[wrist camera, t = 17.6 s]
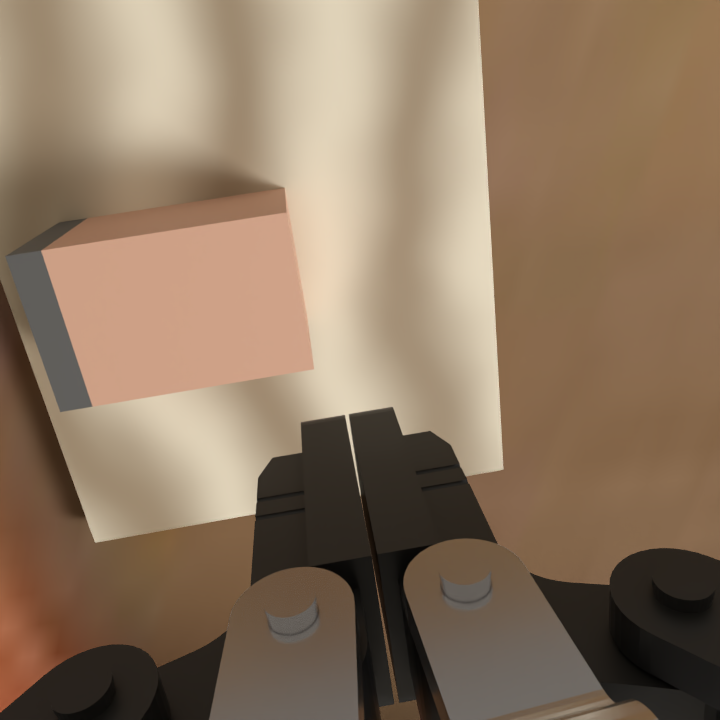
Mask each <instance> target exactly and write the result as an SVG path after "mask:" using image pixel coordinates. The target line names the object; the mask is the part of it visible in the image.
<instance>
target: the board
mask: <svg viewBox="0 0 720 720" xmlns="http://www.w3.org/2000/svg"><path fill="white" fill-rule="evenodd" d="M280 188H285V192H286V198H287V204H288V209H289V215H290V221H291V226H292V232H293V238H294V244H295V249H296V255H297V261H298V267H299V272H300V278H301V284H302V289H303V295H304V301H305V307H306V312H307V318H308V326H309V333H310V341H311V349H312V356H313V364H314V369H313V370H307V371H301V372H295V373H289V374H283V375H277V376H271V377H266V378H260V379H254V380H248V381H242V382H236V383H230V384H224V385H218V386H212V387H206V388H200V389H195V390H189V391H183V392H177V393H171V394H165V395H159V396H153V397H147V398H141V399H135V400H129V401H124V402H118V403H112V404H106V405H100V406H94V407H88V408H82V409H76V410H70V411H64V412H60V410H59V407H58V404H57V402H56V399H55V396H54V393H53V390H52V387H51V385H50V382H49V379H48V376H47V373H46V370H45V368H44V365H43V362H42V359H41V356H40V353H39V351H38V348H37V345H36V342H35V339H34V336H33V334H32V331H31V328H30V325H29V322H28V319H27V317H26V314H25V311H24V308H23V305H22V303H21V300H20V297H19V294H18V291H17V288H16V286H15V283H14V280H13V277H12V274H11V271H10V269H9V266H8V263H7V260H6V257H5V256H6V255H8V254H9V253H11V252H13V251H14V250H16V249H17V248H19V247H21V246H22V245H24V244H25V243H27V242H29V241H30V240H32V239H33V238H35V237H37V236H38V235H40V234H41V233H43V232H45V231H46V230H48V229H49V228H51V227H53V226H54V225H56V224H57V223H59V222H65V221H72V220H78V219H85V218H91V217H98V216H104V215H111V214H117V213H124V212H130V211H137V210H143V209H150V208H156V207H163V206H170V205H176V204H183V203H189V202H196V201H202V200H209V199H215V198H222V197H228V196H235V195H241V194H248V193H254V192H261V191H267V190H274V189H280ZM0 280H1V283H2V286H3V288H4V291H5V294H6V297H7V300H8V302H9V305H10V308H11V311H12V313H13V316H14V319H15V322H16V325H17V327H18V330H19V333H20V336H21V338H22V341H23V344H24V347H25V350H26V352H27V355H28V358H29V361H30V363H31V366H32V369H33V372H34V375H35V377H36V380H37V383H38V386H39V388H40V391H41V394H42V397H43V399H44V402H45V405H46V408H47V411H48V413H49V416H50V419H51V422H52V424H53V427H54V430H55V433H56V436H57V438H58V441H59V444H60V447H61V449H62V452H63V455H64V458H65V461H66V463H67V466H68V469H69V472H70V474H71V477H72V480H73V483H74V486H75V488H76V491H77V494H78V497H79V499H80V502H81V505H82V508H83V510H84V513H85V516H86V519H87V522H88V524H89V527H90V530H91V533H92V535H93V538H94V541H95V543H96V542H102V541H107V540H113V539H118V538H124V537H130V536H135V535H141V534H146V533H152V532H157V531H163V530H169V529H174V528H180V527H185V526H191V525H197V524H202V523H208V522H213V521H219V520H224V519H230V518H236V517H241V516H247V515H252V514H256V503H257V485H258V477H259V476H260V474H261V473H262V471H263V470H264V469H265V467H266V466H267V464H268V463H269V462H270V460H271V459H272V458H273V457H279V456H285V455H291V454H297V453H302V440H301V422H304V421H310V420H316V419H322V418H328V417H335V416H341V415H345V418H346V423H347V429H348V434H349V439H350V445H351V450H352V455H353V460H354V466H355V471H356V476H357V482H358V487H359V492H360V486H359V479H358V473H357V466H356V460H355V453H354V447H353V440H352V434H351V427H350V420H349V414H352V413H358V412H364V411H370V410H376V409H382V408H388V407H393V409H394V411H395V414H396V417H397V420H398V423H399V426H400V429H401V432H402V434H403V435H409V434H415V433H420V432H426V431H431V432H433V433H434V434H436V435H437V436H439V437H440V438H441V439H443V440H444V441H446V442H447V443H449V444H450V445H451V446H452V449H453V451H454V453H455V455H456V457H457V459H458V461H459V463H460V468H462V470H463V472H464V474H465V476H470V475H476V474H481V473H487V472H492V471H498V470H503V454H502V436H501V417H500V398H499V380H498V361H497V342H496V324H495V305H494V287H493V268H492V249H491V231H490V212H489V193H488V175H487V156H486V137H485V119H484V100H483V82H482V63H481V44H480V26H479V7H478V0H0ZM360 495H361V492H360Z"/></svg>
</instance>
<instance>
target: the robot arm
mask: <svg viewBox="0 0 720 720" xmlns="http://www.w3.org/2000/svg"><path fill="white" fill-rule="evenodd" d="M349 420H350V427H351V434H352V440H353V447H354V453H355V460H356V466H357V473H358V479H359V486H360V492H361V497H360V492H359V487H358V482H357V476H356V471H355V466H354V460H353V455H352V450H351V445H350V439H349V434H348V429H347V423H346V418H345V415H341V416H335V417H328V418H322V419H316V420H310V421H304V422H301V440H302V453H297V454H291V455H285V456H279V457H273V458H272V459H271V460H270V462H269V463H268V464H267V466H266V467H265V469H264V470H263V471H262V473H261V474H260V476H259V477H258V485H257V503H256V515H255V517H256V521H255V530H254V545H253V560H252V574H251V587H249V588H248V589H247V590H246V591H245V592H244V593H243V594H242V595H241V596H240V598H239V599H238V600H237V602H236V604H235V605H234V607H233V609H232V612H231V615H230V619H229V624H228V628H227V631H226V632H225V633H223V634H222V635H221V636H220V637H218V638H217V639H215V640H214V641H212V642H211V643H209V644H208V645H206V646H204V647H202V648H200V649H198V650H196V651H194V652H192V653H190V654H187V655H185V656H183V657H181V658H178V659H176V660H174V661H172V662H169V663H167V664H165V665H163V666H160V667H158V668H157V667H156V665H155V663H154V660H153V659H152V658H151V657H150V656H149V654H148V653H146V652H145V651H143V650H142V649H139V648H137V647H134V646H129V645H107V646H101V647H97V648H93V649H90V650H87V651H85V652H82V653H79V654H77V655H75V656H73V657H71V658H69V659H67V660H66V661H64V662H62V663H61V664H59V665H58V666H56V667H55V668H53V669H52V670H51V671H50V672H48V673H47V674H46V675H44V676H43V677H42V678H41V679H40V680H38V681H37V682H36V683H35V684H34V685H33V686H31V687H30V688H29V689H28V690H27V691H26V692H24V693H23V694H22V695H21V696H20V697H19V698H17V699H16V700H15V701H14V702H13V703H11V704H10V705H9V706H8V707H7V708H6V709H4V710H3V711H2V712H1V713H0V720H381V716H380V710H379V707H381V706H387V705H392V704H394V699H393V692H392V686H391V679H390V673H389V666H388V660H387V653H386V647H385V640H384V634H383V627H382V621H381V614H380V608H379V601H378V595H377V588H376V582H375V576H376V581H377V587H378V592H379V597H380V602H381V608H382V613H383V618H384V624H385V629H386V634H387V639H388V645H389V650H390V655H391V661H392V666H393V671H394V676H395V682H396V687H397V692H398V698H399V703H401V702H406V701H411V700H416V701H417V705H418V710H419V714H420V719H421V720H720V561H719V560H716V559H714V558H711V557H708V556H705V555H702V554H699V553H696V552H691V551H687V550H680V549H671V548H659V549H649V550H645V551H640V552H637V553H635V554H632V555H630V556H628V557H626V558H625V559H623V560H622V561H621V562H620V563H619V564H617V566H616V567H615V569H614V570H613V572H612V574H611V577H610V585H600V584H584V583H569V582H561V581H555V580H550V579H546V578H543V577H540V576H537V575H534V574H532V573H529V571H528V570H527V568H526V566H525V565H524V564H523V562H522V561H521V560H520V558H519V557H517V556H516V555H515V554H514V553H513V552H511V551H510V550H508V549H507V548H505V547H503V546H500V545H498V544H497V541H496V539H495V537H494V535H493V533H492V531H491V529H490V527H489V525H488V522H487V520H486V518H485V516H484V514H483V512H482V510H481V508H480V506H479V503H478V501H477V499H476V497H475V495H474V493H473V491H472V489H471V487H470V484H468V482H467V478H466V476H465V474H464V472H463V470H462V468H460V463H459V461H458V459H457V457H456V455H455V453H454V451H453V449H452V446H451V445H450V444H449V443H447V442H446V441H444V440H443V439H441V438H440V437H439V436H437V435H436V434H434V433H433V432H431V431H426V432H420V433H415V434H409V435H403V434H402V432H401V429H400V426H399V423H398V420H397V417H396V414H395V411H394V409H393V407H388V408H382V409H376V410H370V411H364V412H358V413H352V414H349ZM361 499H362V503H361ZM362 505H363V508H362ZM363 511H364V513H363ZM364 517H365V519H364ZM365 523H366V524H365ZM366 528H367V529H366ZM368 539H369V540H368ZM369 544H370V545H369ZM371 555H372V556H371ZM372 560H373V562H372ZM373 566H374V569H373ZM374 571H375V575H374Z"/></svg>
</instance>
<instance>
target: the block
mask: <svg viewBox="0 0 720 720" xmlns="http://www.w3.org/2000/svg"><path fill="white" fill-rule="evenodd" d="M5 257H6V260H7V263H8V266H9V269H10V271H11V274H12V277H13V280H14V283H15V286H16V288H17V291H18V294H19V297H20V300H21V303H22V305H23V308H24V311H25V314H26V317H27V319H28V322H29V325H30V328H31V331H32V334H33V336H34V339H35V342H36V345H37V348H38V351H39V353H40V356H41V359H42V362H43V365H44V368H45V370H46V373H47V376H48V379H49V382H50V385H51V387H52V390H53V393H54V396H55V399H56V402H57V404H58V407H59V410H60V412H64V411H70V410H76V409H82V408H88V407H94V406H100V405H106V404H112V403H118V402H124V401H129V400H135V399H141V398H147V397H153V396H159V395H165V394H171V393H177V392H183V391H189V390H195V389H200V388H206V387H212V386H218V385H224V384H230V383H236V382H242V381H248V380H254V379H260V378H266V377H271V376H277V375H283V374H289V373H295V372H301V371H307V370H313V369H314V364H313V356H312V349H311V341H310V333H309V326H308V318H307V312H306V307H305V301H304V295H303V289H302V284H301V278H300V272H299V267H298V261H297V255H296V249H295V244H294V238H293V232H292V226H291V221H290V215H289V209H288V204H287V198H286V192H285V188H280V189H274V190H267V191H261V192H254V193H248V194H241V195H235V196H228V197H222V198H215V199H209V200H202V201H196V202H189V203H183V204H176V205H170V206H163V207H156V208H150V209H143V210H137V211H130V212H124V213H117V214H111V215H104V216H98V217H91V218H85V219H78V220H72V221H65V222H59V223H57V224H56V225H54V226H53V227H51V228H49V229H48V230H46V231H45V232H43V233H41V234H40V235H38V236H37V237H35V238H33V239H32V240H30V241H29V242H27V243H25V244H24V245H22V246H21V247H19V248H17V249H16V250H14V251H13V252H11V253H9V254H8V255H6V256H5Z"/></svg>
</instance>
